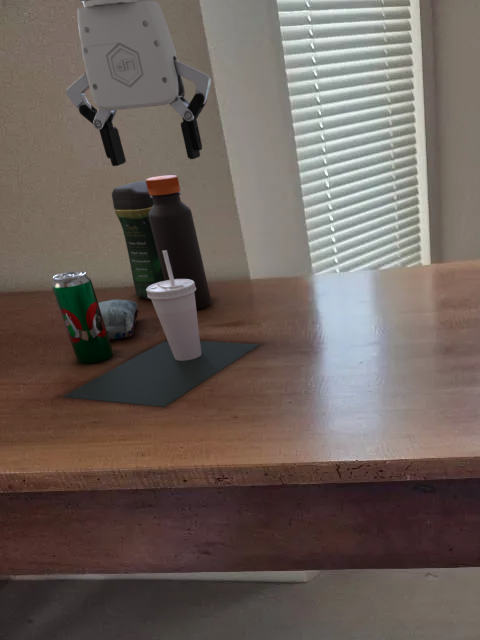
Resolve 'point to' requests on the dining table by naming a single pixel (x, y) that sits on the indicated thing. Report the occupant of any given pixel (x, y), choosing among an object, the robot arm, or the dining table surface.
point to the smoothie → (177, 313)
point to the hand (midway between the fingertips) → (156, 161)
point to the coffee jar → (138, 234)
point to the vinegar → (176, 235)
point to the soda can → (82, 317)
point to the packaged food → (119, 317)
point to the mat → (160, 375)
